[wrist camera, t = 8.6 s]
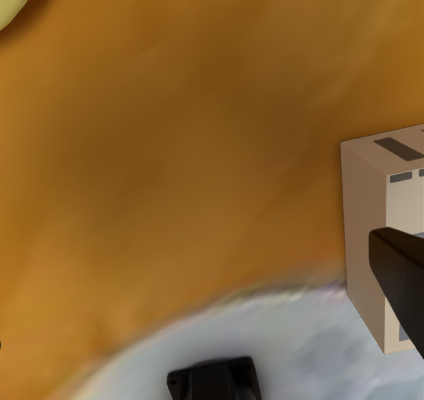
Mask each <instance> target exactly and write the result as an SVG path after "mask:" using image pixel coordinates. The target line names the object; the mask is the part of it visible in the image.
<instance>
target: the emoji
mask: <svg viewBox="0 0 424 400" xmlns="http://www.w3.org/2000/svg"><path fill="white" fill-rule="evenodd" d="M26 2H27V0H0V31H1V30H2V29H3V28H4V27H5V26H7V25H8V24H9V23H10V22H11V21H12V20H13V18H14V17H15V16H16V15H17V14H18V12H19V11H20V10H21V9H22V8H23V6H24V5H25V4H26Z"/></svg>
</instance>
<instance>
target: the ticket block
mask: <svg viewBox="0 0 424 400" xmlns="http://www.w3.org/2000/svg"><path fill="white" fill-rule="evenodd" d="M340 149H341V170H342V191H343V212H344V233H345V254H346V275H347V295H348V297H349V298H350V300H351V301H352V303H353V305H354V306H355V308H356V309H357V311H358V313H359V314H360V316H361V318H362V319H363V321H364V322H365V324H366V326H367V327H368V329H369V330H370V332H371V334H372V335H373V337H374V339H375V340H376V342H377V343H378V345H379V347H380V348H381V350H382V352H383V353H384V355H385V354H390V353H395V352H400V351H404V350H409V349H414V348H416V347H415V346H414V345H413V343H412V342H411V340H410V339H409V337H408V336H407V334H406V333H405V331H404V329H403V328H402V326H401V324H400V323H399V321H398V319H397V317H396V315H395V313H394V312H393V310H392V308H391V306H390V304H389V302H388V300H387V298H386V297H385V295H384V293H383V291H382V289H381V287H380V285H379V283H378V282H377V280H376V278H375V276H374V274H373V272H372V270H371V268H370V264H369V245H368V236H369V232H370V231H371V230H373V229H378V228H383V227H391V228H394V229H397V230H400V231H403V232H406V233H409V234H412V235H415V236H418V237H421V238H424V124H421V125H416V126H412V127H407V128H403V129H398V130H393V131H389V132H384V133H380V134H375V135H371V136H366V137H361V138H357V139H352V140H348V141H343V142H340Z"/></svg>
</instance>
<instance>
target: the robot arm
mask: <svg viewBox="0 0 424 400" xmlns="http://www.w3.org/2000/svg"><path fill="white" fill-rule="evenodd" d="M368 245H369V264H370V268H371V270H372V272H373V274H374V276H375V278H376V280H377V282H378V283H379V285H380V287H381V289H382V291H383V293H384V295H385V297H386V298H387V300H388V302H389V304H390V306H391V308H392V310H393V312H394V313H395V315H396V317H397V319H398V321H399V323H400V324H401V326H402V328H403V329H404V331H405V333H406V334H407V336H408V337H409V339H410V340H411V342H412V343H413V345H414V346H415V347H416V349H417V350H418V352H419V353H420V355H421V356H422V358H423V359H424V238H421V237H418V236H415V235H412V234H409V233H406V232H403V231H400V230H397V229H394V228H391V227H383V228H378V229H373V230H371V231H370V232H369V236H368ZM0 348H1V343H0ZM167 385H168V388H169V391H170V393H171V396H172V398H173V400H262V398H261V394H260V389H259V384H258V380H257V375H256V371H255V366H254V362H253V360H252V359H251V358H243V359H238V360H233V361H228V362H223V363H218V364H214V365H209V366H204V367H199V368H194V369H189V370H185V371H180V372H175V373H171V374H169V375H168V376H167Z"/></svg>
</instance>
